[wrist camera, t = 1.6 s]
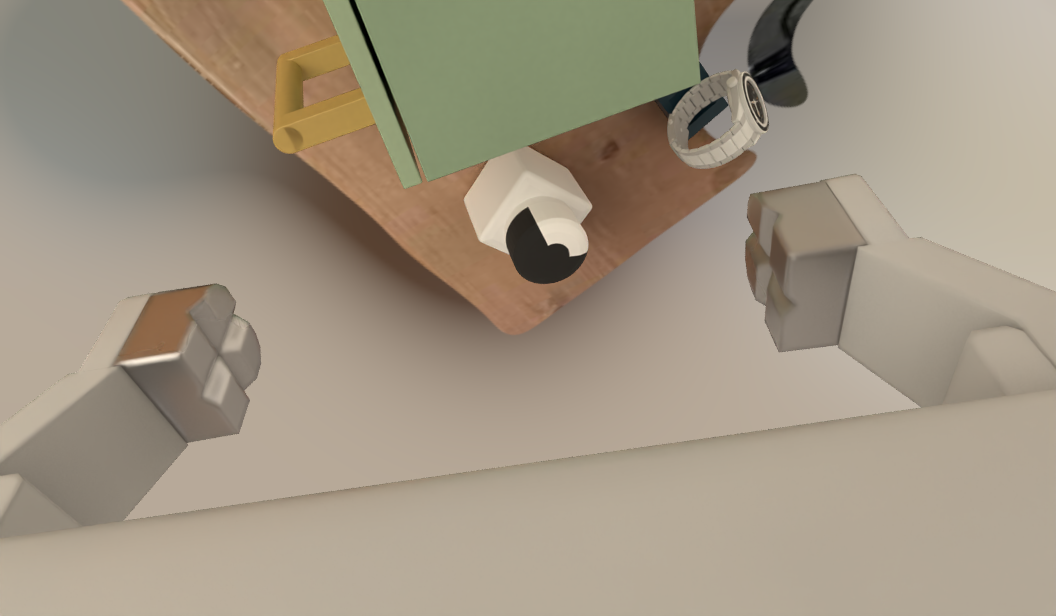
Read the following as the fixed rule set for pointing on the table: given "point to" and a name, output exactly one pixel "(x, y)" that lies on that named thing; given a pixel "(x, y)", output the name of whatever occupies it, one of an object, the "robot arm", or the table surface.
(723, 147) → the watch
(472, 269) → the table surface
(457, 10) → the cupboard
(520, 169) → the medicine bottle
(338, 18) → the cupboard door
